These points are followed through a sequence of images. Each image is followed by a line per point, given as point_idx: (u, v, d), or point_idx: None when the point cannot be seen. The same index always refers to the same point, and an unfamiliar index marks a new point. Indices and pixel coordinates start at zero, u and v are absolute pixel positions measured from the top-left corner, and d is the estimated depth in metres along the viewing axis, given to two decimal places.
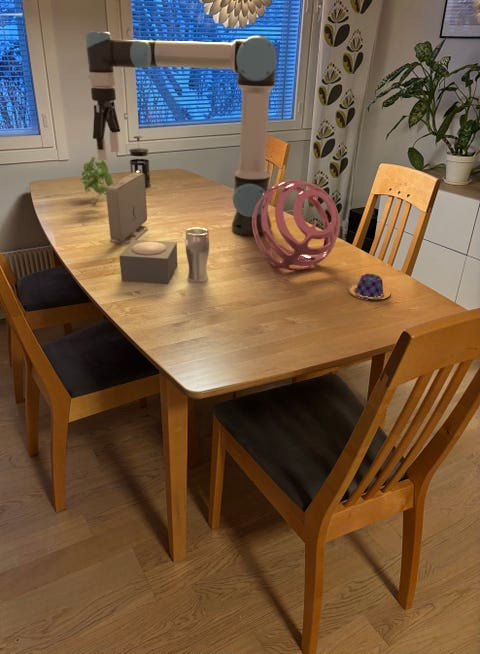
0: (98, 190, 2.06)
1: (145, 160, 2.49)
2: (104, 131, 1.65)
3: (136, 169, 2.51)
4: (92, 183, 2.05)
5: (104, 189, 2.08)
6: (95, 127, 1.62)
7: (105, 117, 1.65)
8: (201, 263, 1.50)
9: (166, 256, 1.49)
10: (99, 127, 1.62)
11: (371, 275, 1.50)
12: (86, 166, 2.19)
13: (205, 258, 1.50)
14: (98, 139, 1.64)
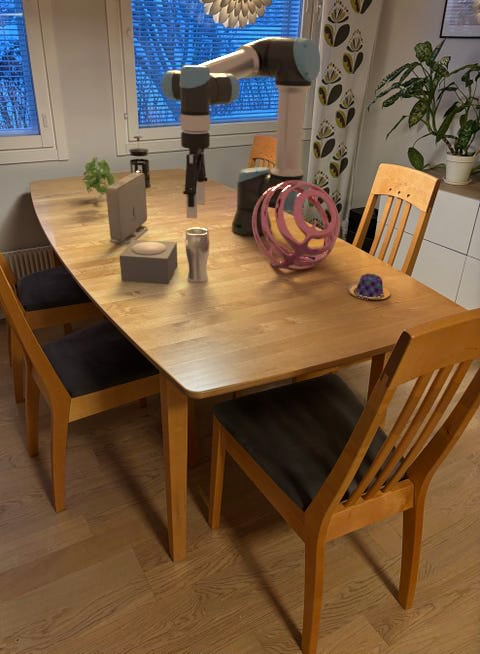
0: (100, 190, 2.06)
1: (145, 160, 2.49)
2: (196, 185, 1.36)
3: (136, 169, 2.51)
4: (94, 183, 2.05)
5: None
6: (187, 181, 1.32)
7: (197, 168, 1.35)
8: (201, 263, 1.50)
9: (166, 256, 1.49)
10: (192, 181, 1.32)
11: (371, 275, 1.49)
12: None
13: (205, 258, 1.50)
14: (189, 195, 1.34)
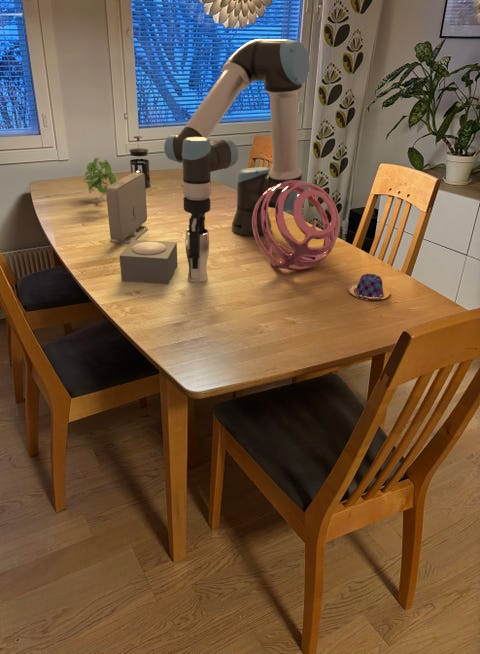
0: (102, 190, 2.06)
1: (145, 160, 2.49)
2: (199, 248, 1.47)
3: (136, 169, 2.51)
4: (96, 183, 2.05)
5: None
6: (191, 248, 1.43)
7: (200, 232, 1.45)
8: (201, 263, 1.50)
9: (166, 256, 1.49)
10: (196, 248, 1.43)
11: (372, 275, 1.49)
12: (89, 166, 2.19)
13: (205, 258, 1.50)
14: (194, 259, 1.46)
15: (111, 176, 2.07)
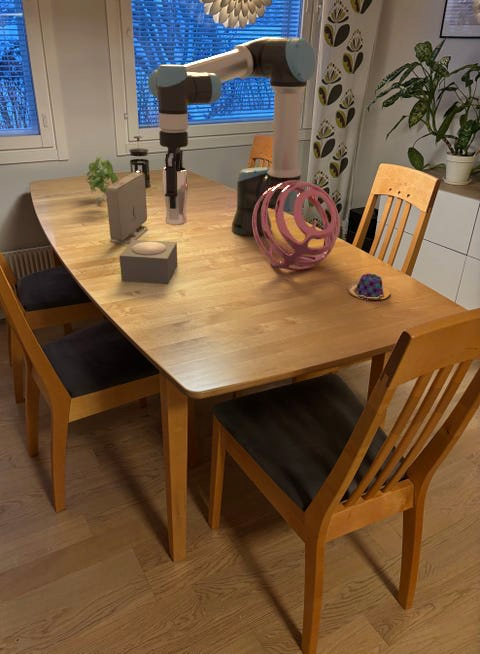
0: (104, 190, 2.07)
1: (145, 160, 2.49)
2: None
3: (136, 169, 2.51)
4: (98, 183, 2.05)
5: None
6: (168, 185, 1.36)
7: (177, 169, 1.38)
8: (179, 203, 1.42)
9: (166, 256, 1.49)
10: (173, 185, 1.36)
11: (372, 275, 1.49)
12: (91, 166, 2.20)
13: (183, 198, 1.42)
14: (171, 197, 1.39)
15: (113, 176, 2.07)
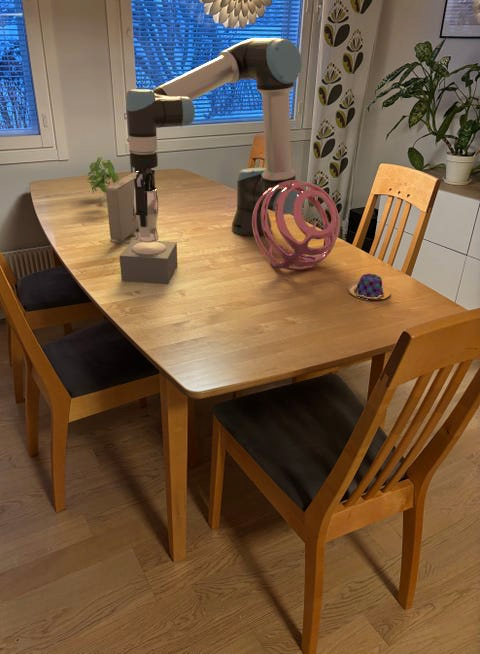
0: (105, 190, 2.07)
1: None
2: (147, 205, 1.44)
3: (136, 169, 2.51)
4: (99, 183, 2.05)
5: None
6: (138, 204, 1.41)
7: (147, 189, 1.42)
8: (149, 222, 1.47)
9: (166, 256, 1.49)
10: (142, 204, 1.41)
11: (373, 275, 1.49)
12: None
13: (154, 216, 1.47)
14: (141, 216, 1.44)
15: (114, 176, 2.08)
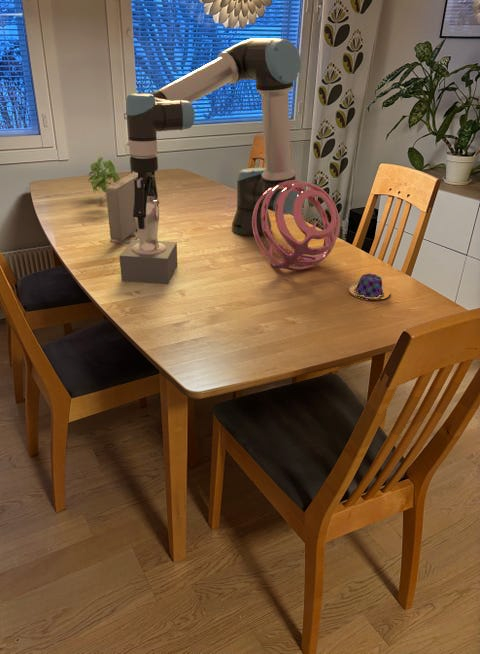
0: None
1: None
2: None
3: None
4: (100, 183, 2.05)
5: None
6: (136, 205, 1.39)
7: (146, 191, 1.42)
8: (150, 232, 1.47)
9: (166, 256, 1.49)
10: (141, 205, 1.39)
11: (373, 275, 1.49)
12: (93, 166, 2.20)
13: (154, 226, 1.47)
14: (139, 218, 1.41)
15: (115, 176, 2.08)
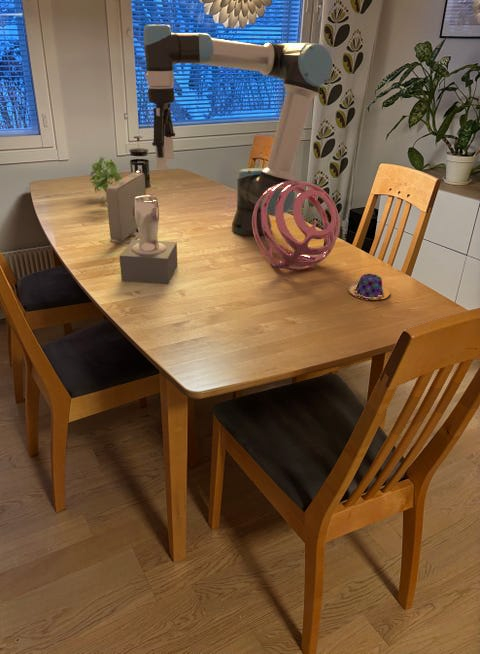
0: None
1: (145, 160, 2.49)
2: (164, 137, 1.48)
3: (136, 169, 2.51)
4: (102, 183, 2.05)
5: None
6: (155, 133, 1.44)
7: (164, 121, 1.47)
8: (150, 231, 1.47)
9: (166, 256, 1.49)
10: (160, 133, 1.44)
11: (373, 275, 1.49)
12: (95, 166, 2.20)
13: (154, 226, 1.47)
14: (158, 146, 1.46)
15: (117, 176, 2.08)
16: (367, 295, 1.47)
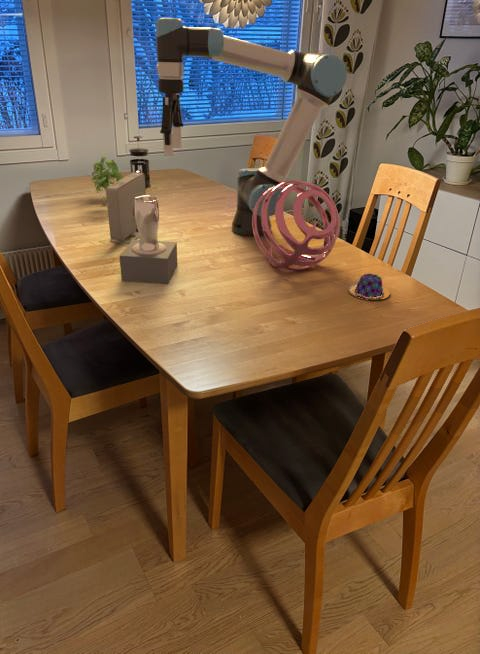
0: None
1: (145, 160, 2.49)
2: None
3: (136, 169, 2.51)
4: (103, 183, 2.06)
5: None
6: (164, 121, 1.51)
7: (173, 110, 1.54)
8: (150, 231, 1.47)
9: (166, 256, 1.49)
10: (168, 121, 1.51)
11: (373, 275, 1.49)
12: (97, 166, 2.20)
13: (154, 226, 1.47)
14: (166, 134, 1.53)
15: (118, 176, 2.08)
16: (366, 295, 1.47)
